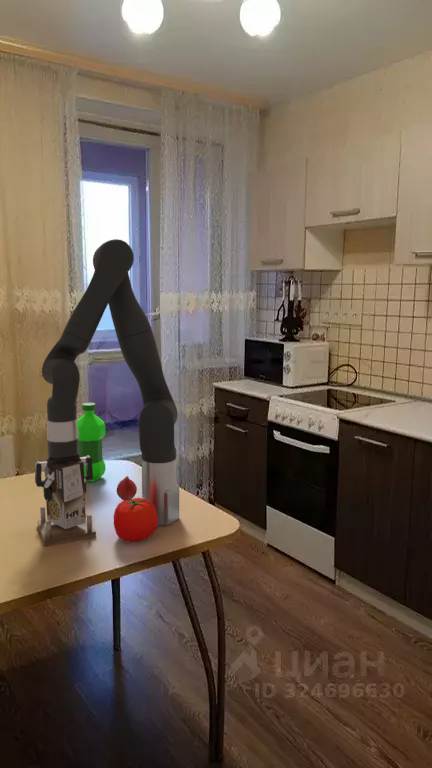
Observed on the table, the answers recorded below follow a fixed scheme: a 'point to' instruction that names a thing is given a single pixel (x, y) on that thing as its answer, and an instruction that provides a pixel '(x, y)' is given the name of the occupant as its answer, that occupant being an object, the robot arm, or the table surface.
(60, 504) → the coffee box
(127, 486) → the onion
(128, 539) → the tomato
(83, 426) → the plastic bottle
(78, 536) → the pin holder
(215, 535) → the table surface
